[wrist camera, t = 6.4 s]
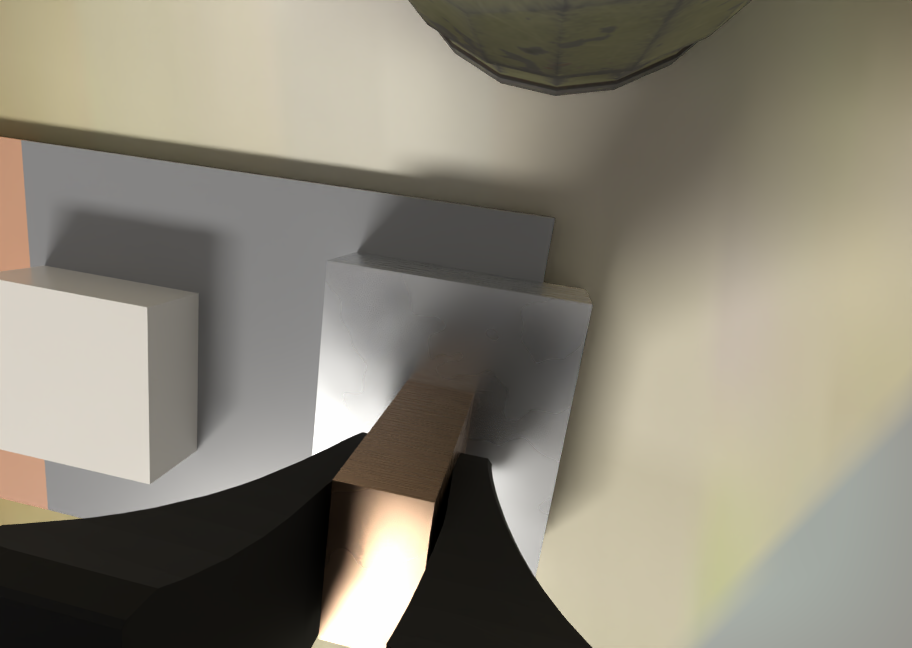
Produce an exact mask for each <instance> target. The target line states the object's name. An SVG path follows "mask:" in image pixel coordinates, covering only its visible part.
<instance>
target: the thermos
mask: <svg viewBox="0 0 912 648" xmlns="http://www.w3.org/2000/svg"><path fill="white" fill-rule="evenodd" d="M750 1H751V0H409V2H410V3H411V4H412V5H413V7H414V8H415V9H416V11H417V12H418V13H419V14H420V16H421V17H422V18H423V19H424V21H425V22H426V23H427V25H429V26H431V27H432V28H434V29H435V30H437V31H438V32H439V33H440V35H441V36H442V37H443V39H444V40H445V41H446V42H447V44H448V45H449V46H450V47H451V49H452V50H453V51H454V53H456V54H457V55H459V56H460V57H462V58H463V59H465V60H466V61H468V62H469V63H471V64H473V65H474V66H476V67H477V68H479V69H480V70H482V71H483V72H485V73H486V74H488V75H490V76H491V77H493V78H494V79H496V80H497V81H499V82H500V83H503V84H507V85H512V86H516V87H520V88H524V89H529V90H533V91H537V92H541V93H546V94H550V95H554V96H558V95H567V94H577V93H586V92H596V91H605V90H614V89H616V88H618V87H621V86H623V85H625V84H627V83H630V82H632V81H634V80H636V79H639V78H641V77H643V76H645V75H648V74H650V73H652V72H654V71H657V70H659V69H661V68H664V67H666V66H668V65H670V64H672V63H673V62H674V61H675V60H677V59H678V58H679V57H680V56H681V55H683V54H684V53H685V52H686V51H687V50H689V49H690V48H691V47H692V46H693V45H694V44H696V43H697V42H698V41H700V40H702V39H704V38H707V37H709V36H710V35H711V34H712V33H713V32H715V31H716V30H717V29H718V28H719V27H721V26H722V25H723V24H724V23H725V22H726V21H728V20H729V19H730V18H731V17H732V16H734V15H735V14H736V13H737V12H738V11H740V10H741V9H742V8H743V7H744V6H745V5H747V4H748V3H749V2H750Z"/></svg>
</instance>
